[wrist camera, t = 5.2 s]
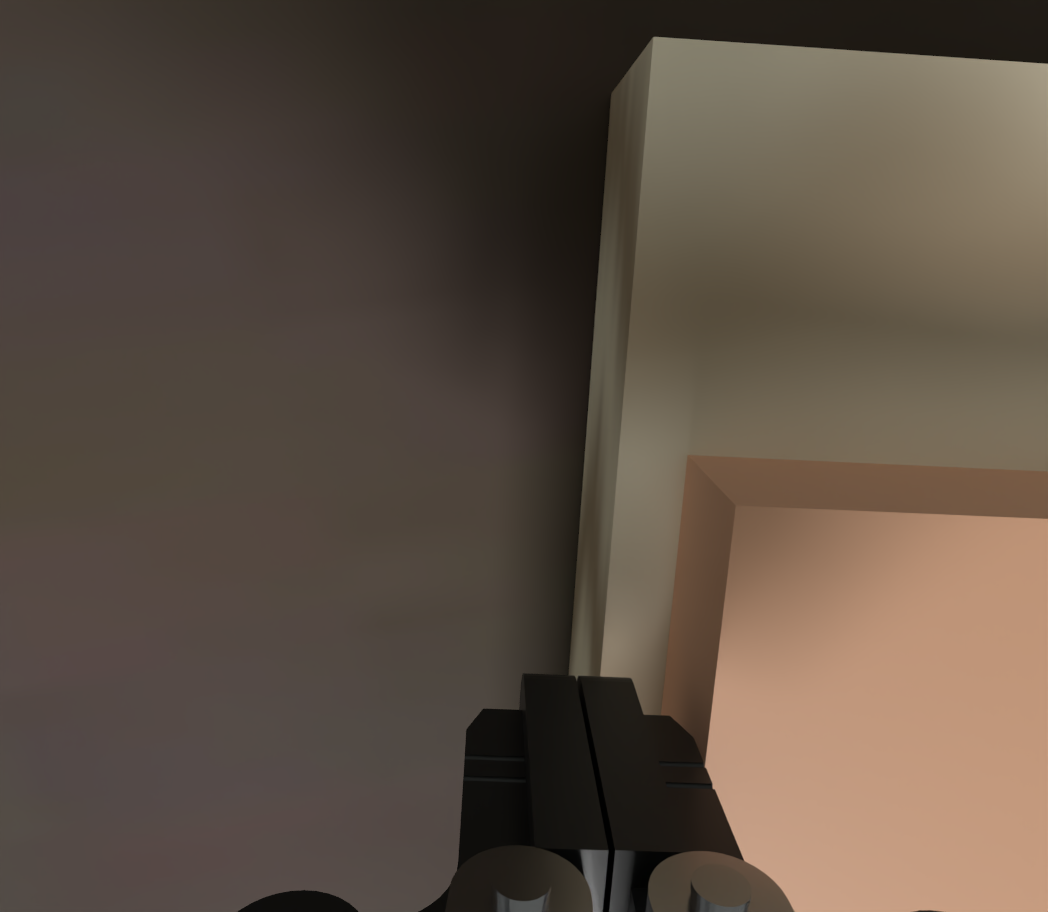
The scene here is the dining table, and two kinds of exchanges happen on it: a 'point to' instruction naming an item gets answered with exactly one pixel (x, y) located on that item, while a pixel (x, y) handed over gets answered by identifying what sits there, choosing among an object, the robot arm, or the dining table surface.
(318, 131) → the dining table surface
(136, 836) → the dining table surface
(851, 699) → the tile
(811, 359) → the beige flat block
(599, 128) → the dining table surface
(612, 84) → the dining table surface
